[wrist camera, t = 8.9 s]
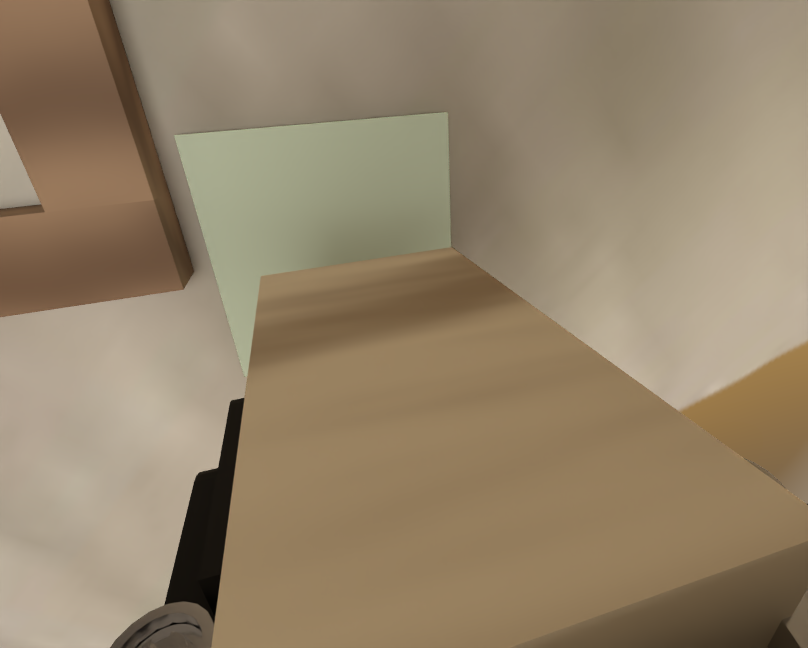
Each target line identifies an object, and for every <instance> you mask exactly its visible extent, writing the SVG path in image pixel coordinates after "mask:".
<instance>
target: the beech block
mask: <svg viewBox="0 0 808 648" xmlns="http://www.w3.org/2000/svg"><path fill="white" fill-rule="evenodd" d="M807 588H808V505H807V504H806V503H805V502H803V501H802V500H800V499H799V498H798V497H796V496H795V495H793V494H792V493H791V492H789V491H788V490H787V489H785V488H784V487H782V486H781V485H780V484H778V483H777V482H776V481H774V480H773V479H771V478H770V477H769V476H767V475H766V474H764V473H763V472H762V471H760V470H759V469H758V468H756V467H755V466H753V465H752V464H751V463H749V462H748V461H747V460H745V459H744V458H742V457H741V456H740V455H738V454H737V453H735V452H734V451H733V450H731V449H730V448H728V447H727V446H726V445H724V444H723V443H722V442H720V441H719V440H718V439H716V438H715V437H713V436H712V435H710V434H709V433H708V432H706V431H705V430H704V429H702V428H701V427H700V426H698V425H697V424H695V423H694V422H693V421H691V420H690V419H688V418H687V417H686V416H684V415H683V414H682V413H680V412H679V411H677V410H676V409H675V408H673V407H672V406H671V405H669V404H668V403H666V402H665V401H664V400H662V399H661V398H659V397H658V396H657V395H655V394H654V393H653V392H651V391H650V390H648V389H647V388H646V387H644V386H643V385H642V384H640V383H639V382H637V381H636V380H635V379H633V378H632V377H630V376H629V375H628V374H626V373H625V372H624V371H622V370H621V369H619V368H618V367H617V366H615V365H614V364H612V363H611V362H610V361H608V360H607V359H606V358H604V357H603V356H601V355H600V354H599V353H597V352H596V351H595V350H593V349H592V348H590V347H589V346H588V345H586V344H585V343H583V342H582V341H581V340H579V339H578V338H577V337H575V336H574V335H572V334H571V333H570V332H568V331H567V330H566V329H564V328H563V327H561V326H560V325H559V324H557V323H556V322H554V321H553V320H552V319H550V318H549V317H548V316H546V315H545V314H543V313H542V312H541V311H539V310H538V309H537V308H535V307H534V306H532V305H531V304H530V303H528V302H527V301H525V300H524V299H523V298H521V297H520V296H519V295H517V294H516V293H514V292H513V291H512V290H510V289H509V288H507V287H506V286H505V285H503V284H502V283H501V282H499V281H498V280H496V279H495V278H494V277H492V276H491V275H490V274H488V273H487V272H485V271H484V270H483V269H481V268H480V267H478V266H477V265H476V264H474V263H473V262H472V261H470V260H469V259H467V258H466V257H465V256H463V255H462V254H461V253H459V252H458V251H456V250H455V249H454V248H452V247H449V248H443V249H436V250H429V251H423V252H416V253H410V254H403V255H396V256H390V257H383V258H377V259H370V260H363V261H357V262H350V263H344V264H337V265H330V266H324V267H317V268H311V269H304V270H297V271H291V272H284V273H277V274H271V275H264V276H261V278H260V286H259V293H258V301H257V308H256V316H255V323H254V331H253V338H252V346H251V353H250V361H249V368H248V376H247V383H246V391H245V398H244V406H243V413H242V421H241V428H240V436H239V443H238V451H237V458H236V466H235V473H234V481H233V488H232V496H231V503H230V511H229V518H228V526H227V533H226V541H225V548H224V556H223V563H222V571H221V578H220V586H219V593H218V601H217V608H216V616H215V623H214V631H213V638H212V646H211V648H768V647H767V646H768V644H769V642H770V641H771V639H772V637H773V635H774V633H775V631H776V630H777V628H778V626H779V624H780V622H781V621H782V620H783V619H785V618H788V617H790V616H792V615H793V613H794V611H795V610H796V608H797V606H798V604H799V603H800V601H801V599H802V597H803V595H804V594H805V592H806V590H807Z"/></svg>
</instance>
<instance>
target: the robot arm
mask: <svg viewBox="0 0 808 648" xmlns="http://www.w3.org/2000/svg"><path fill="white" fill-rule="evenodd" d="M243 406H244V398H241V399H237V400H232V401H231V402H230V406H229V412H228V417H227V423H226V428H225V434H224V439H223V445H222V450H221V456H220V461H219V467H218V468H216V469H212V470H208V471H203V472H199V473H198V475H197V476H196V478H195V481H194V485H193V489H192V493H191V497H190V501H189V506H188V510H187V514H186V518H185V522H184V526H183V530H182V535H181V539H180V543H179V547H178V551H177V555H176V559H175V564H174V568H173V572H172V576H171V580H170V584H169V588H168V592H167V597H166V601H165V605H164V606H162V607H159V608H157V609H155V610H152V611H150V612H148V613H147V614H146V615H144V616H143V617H141V618H140V619H138V620H137V621H135V622H134V623H133V624H131V625H130V626H129V627H128V628H127V629H126V630H125V631H124V632H123V633H122V634H121V635H120V636H119V637H118V638H117V639H116V640H115V642H114V643H113V644H112V646H111V647H110V648H211V646H212V638H213V631H214V623H215V616H216V608H217V601H218V593H219V586H220V578H221V571H222V563H223V556H224V548H225V541H226V533H227V526H228V518H229V511H230V503H231V496H232V488H233V481H234V473H235V466H236V458H237V451H238V443H239V436H240V428H241V421H242V413H243ZM744 459H745V458H744ZM745 460H747V459H745ZM747 461H748V462H749V463H751V464H752V465H753V466H755V467H756V468H758V469H759V470H760V471H762V472H763V473H764V474H766V475H767V476H769V477H770V478H771V479H773V480H774V481H776V482H777V483H778V484H780V485H781V486H782V487H784V486H783V485H782V483H781V482H780V481H779V480H778V479H776V478H775V477H774V476H773V475H772V474H771V473H769V472H768V471H767V470H765V469H764V468H762V467H760V466H759V465H757V464H756V463H754V462H752V461H749V460H747ZM784 488H785V487H784ZM785 489H786V488H785ZM807 505H808V504H807ZM767 647H768V648H808V588H807V590H806V592H805V594H804V595H803V597H802V599H801V601H800V603H799V604H798V606H797V608H796V610H795V611H794V613H793V615H792V616H790V617H788V618H785V619H783V620H782V621H781V622H780V624H779V626H778V628H777V630H776V631H775V633H774V635H773V637H772V639H771V641H770V642H769V644H768V646H767Z"/></svg>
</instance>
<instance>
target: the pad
mask: <svg viewBox="0 0 808 648" xmlns="http://www.w3.org/2000/svg"><path fill="white" fill-rule="evenodd" d="M174 137H175V140H176V144H177V147H178V151H179V154H180V158H181V161H182V165H183V168H184V171H185V175H186V178H187V182H188V185H189V189H190V192H191V195H192V199H193V202H194V206H195V209H196V213H197V216H198V219H199V223H200V226H201V230H202V233H203V237H204V240H205V243H206V247H207V250H208V254H209V257H210V261H211V264H212V267H213V271H214V274H215V278H216V281H217V285H218V288H219V291H220V295H221V298H222V302H223V305H224V309H225V312H226V315H227V319H228V322H229V326H230V329H231V333H232V336H233V340H234V343H235V346H236V350H237V353H238V357H239V360H240V364H241V367H242V370H243V374H244V377H246V376H248V368H249V361H250V353H251V346H252V338H253V331H254V323H255V316H256V308H257V301H258V293H259V286H260V278H261V276H264V275H271V274H277V273H284V272H291V271H297V270H304V269H311V268H317V267H324V266H330V265H337V264H344V263H350V262H357V261H363V260H370V259H377V258H383V257H390V256H396V255H403V254H410V253H416V252H423V251H429V250H436V249H443V248H449V247H451V219H450V178H449V136H448V112H440V113H428V114H416V115H405V116H393V117H381V118H369V119H358V120H346V121H334V122H323V123H311V124H299V125H287V126H276V127H264V128H252V129H240V130H229V131H217V132H205V133H193V134H182V135H174Z"/></svg>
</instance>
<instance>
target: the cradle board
mask: <svg viewBox="0 0 808 648" xmlns="http://www.w3.org/2000/svg"><path fill="white" fill-rule="evenodd" d="M0 114H1V116H2V118H3V120H4V122H5V125H6V127H7V129H8V131H9V133H10V136H11V138H12V140H13V142H14V145H15V147H16V149H17V151H18V153H19V156H20V158H21V160H22V162H23V165H24V167H25V169H26V171H27V173H28V176H29V178H30V180H31V182H32V184H33V187H34V189H35V191H36V193H37V196H38V198H39V200H40V202H41V204H42V205H33V206H24V207H15V208H6V209H0V317H5V316H11V315H18V314H24V313H31V312H38V311H44V310H51V309H58V308H64V307H71V306H77V305H84V304H91V303H97V302H104V301H111V300H117V299H124V298H130V297H137V296H144V295H150V294H157V293H163V292H170V291H177V290H183V289H184V288H185V286H186V284H187V283H188V281H189V279H190V277H191V276H192V274H193V272H194V270H193V267H192V264H191V260H190V257H189V254H188V251H187V248H186V244H185V241H184V238H183V235H182V232H181V228H180V225H179V222H178V219H177V216H176V213H175V209H174V206H173V203H172V200H171V197H170V193H169V190H168V187H167V184H166V181H165V177H164V174H163V171H162V168H161V165H160V161H159V158H158V155H157V152H156V149H155V146H154V142H153V139H152V136H151V133H150V130H149V126H148V123H147V120H146V117H145V114H144V110H143V107H142V104H141V101H140V98H139V95H138V91H137V88H136V85H135V82H134V79H133V75H132V72H131V69H130V66H129V63H128V59H127V56H126V53H125V50H124V47H123V43H122V40H121V37H120V34H119V31H118V28H117V24H116V21H115V18H114V15H113V12H112V8H111V5H110V2H109V0H0Z"/></svg>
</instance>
